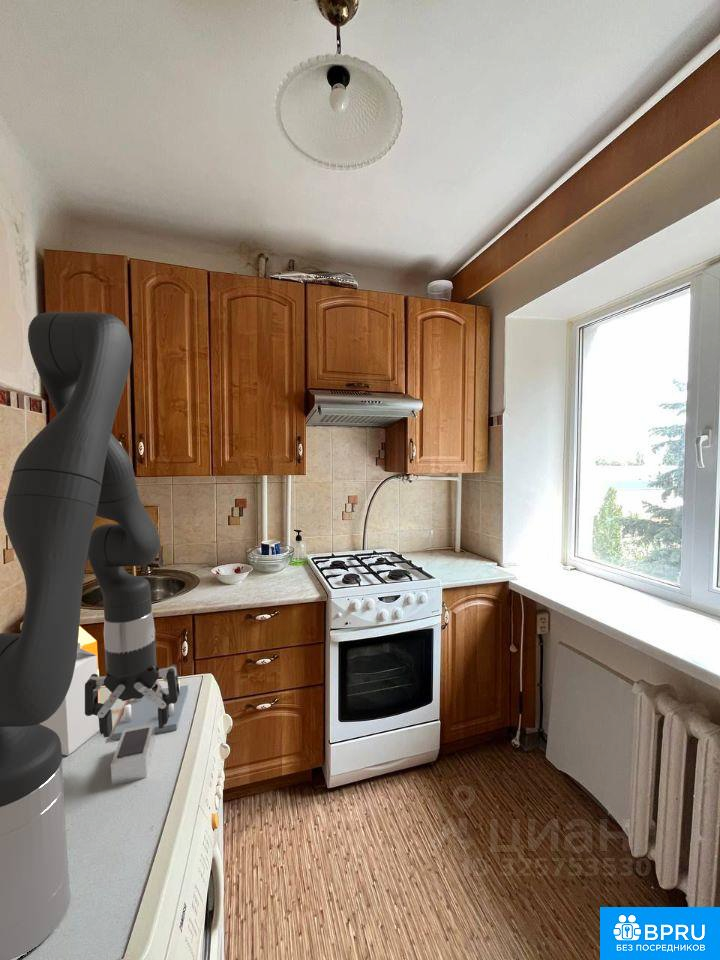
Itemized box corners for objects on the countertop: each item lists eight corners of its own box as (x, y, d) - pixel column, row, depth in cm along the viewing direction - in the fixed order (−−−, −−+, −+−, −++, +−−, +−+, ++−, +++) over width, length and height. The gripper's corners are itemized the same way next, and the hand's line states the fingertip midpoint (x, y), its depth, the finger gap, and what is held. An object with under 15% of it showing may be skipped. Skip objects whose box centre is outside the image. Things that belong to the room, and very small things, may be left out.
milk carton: (68, 756, 73) (62, 652, 72) (35, 751, 75) (29, 648, 74) (101, 730, 80) (96, 634, 79) (70, 726, 82) (64, 631, 80)
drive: (146, 778, 68) (145, 755, 68) (111, 786, 67) (110, 762, 67) (155, 743, 77) (154, 722, 77) (124, 749, 75) (123, 728, 75)
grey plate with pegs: (176, 730, 80) (175, 709, 80) (113, 740, 77) (112, 718, 77) (188, 690, 94) (187, 672, 93) (134, 697, 91) (133, 679, 91)
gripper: (73, 656, 65) (80, 753, 67) (171, 644, 69) (175, 737, 70) (91, 635, 73) (97, 722, 74) (179, 625, 76) (183, 709, 77)
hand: (135, 729), depth 72 cm, fingers open, 8 cm apart
